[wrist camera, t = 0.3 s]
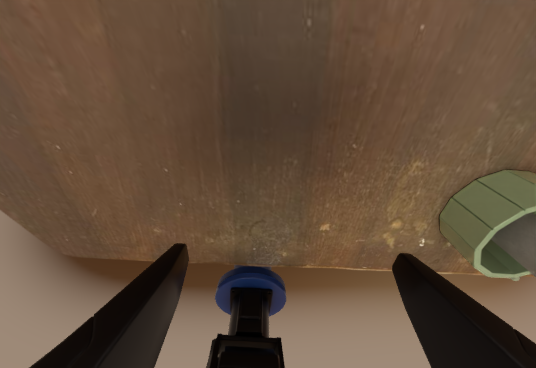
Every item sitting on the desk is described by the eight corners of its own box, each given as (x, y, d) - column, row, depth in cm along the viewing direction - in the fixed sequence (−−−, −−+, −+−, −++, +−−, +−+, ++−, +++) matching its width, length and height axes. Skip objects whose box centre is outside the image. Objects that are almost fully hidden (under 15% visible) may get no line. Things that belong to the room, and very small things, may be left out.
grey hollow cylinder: (516, 193, 26) (646, 268, 17) (497, 223, 28) (604, 302, 19) (476, 195, 26) (585, 271, 17) (461, 225, 28) (550, 304, 19)
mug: (436, 191, 25) (475, 223, 21) (548, 154, 23) (620, 181, 18) (442, 262, 32) (472, 299, 27) (530, 239, 30) (579, 275, 25)
